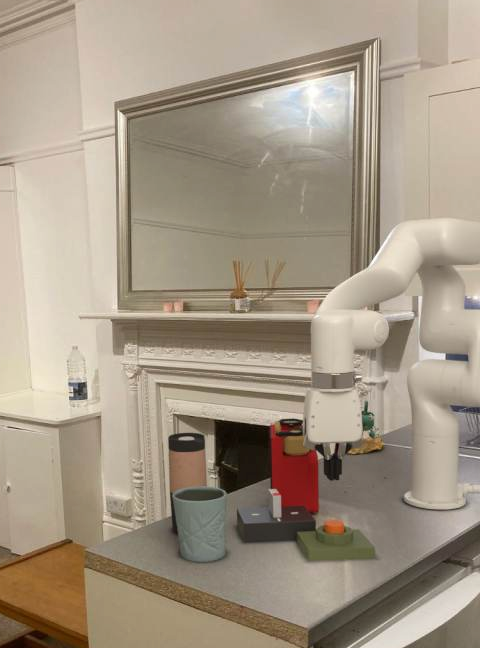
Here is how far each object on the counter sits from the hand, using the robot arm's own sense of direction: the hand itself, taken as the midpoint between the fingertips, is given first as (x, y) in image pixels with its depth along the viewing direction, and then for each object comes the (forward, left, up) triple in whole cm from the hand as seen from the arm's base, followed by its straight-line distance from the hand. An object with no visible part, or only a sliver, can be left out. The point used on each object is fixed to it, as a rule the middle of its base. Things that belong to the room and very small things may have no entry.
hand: (332, 478), depth 151 cm
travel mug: (+26, -15, -14) cm, 33 cm away
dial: (+9, -11, -10) cm, 17 cm away
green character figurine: (-30, -79, -14) cm, 86 cm away
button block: (0, 0, -14) cm, 14 cm away
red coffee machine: (+2, -27, -14) cm, 31 cm away
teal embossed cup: (+25, -1, -14) cm, 29 cm away
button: (0, 0, -11) cm, 11 cm away
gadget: (+9, -11, -14) cm, 20 cm away
